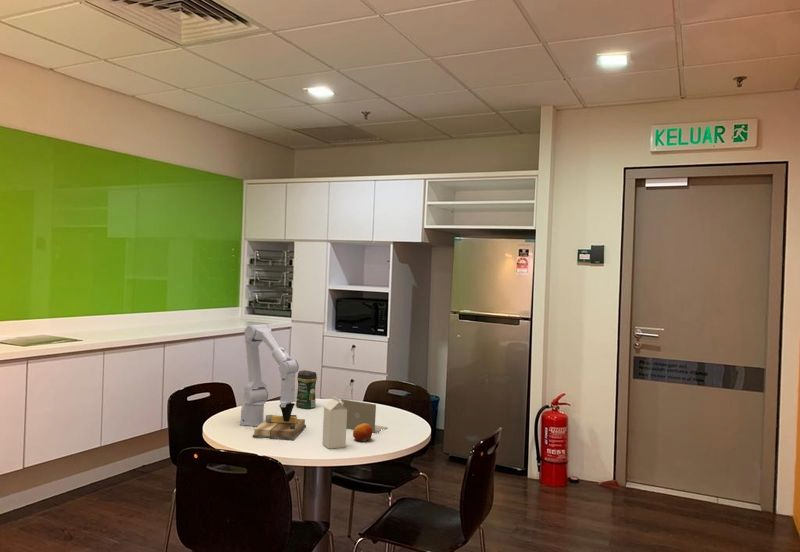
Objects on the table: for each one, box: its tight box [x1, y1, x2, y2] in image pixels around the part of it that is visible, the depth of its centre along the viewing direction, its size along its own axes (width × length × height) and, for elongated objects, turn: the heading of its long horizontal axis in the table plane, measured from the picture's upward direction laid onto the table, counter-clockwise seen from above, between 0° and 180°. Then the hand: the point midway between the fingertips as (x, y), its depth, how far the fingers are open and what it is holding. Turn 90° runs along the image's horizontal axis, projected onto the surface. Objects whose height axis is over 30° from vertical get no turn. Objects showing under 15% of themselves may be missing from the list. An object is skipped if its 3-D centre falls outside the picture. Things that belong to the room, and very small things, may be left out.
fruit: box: [352, 423, 373, 443], centre depth 243 cm, size 8×8×8 cm
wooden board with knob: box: [252, 414, 307, 441], centre depth 249 cm, size 17×22×6 cm
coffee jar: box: [295, 369, 318, 410], centre depth 299 cm, size 10×8×19 cm
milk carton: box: [321, 395, 347, 450], centre depth 233 cm, size 7×7×19 cm
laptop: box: [340, 398, 388, 434], centre depth 263 cm, size 18×12×13 cm
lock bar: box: [265, 414, 298, 424], centre depth 251 cm, size 13×3×2 cm, turn 88°
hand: (286, 421), depth 249 cm, fingers closed
